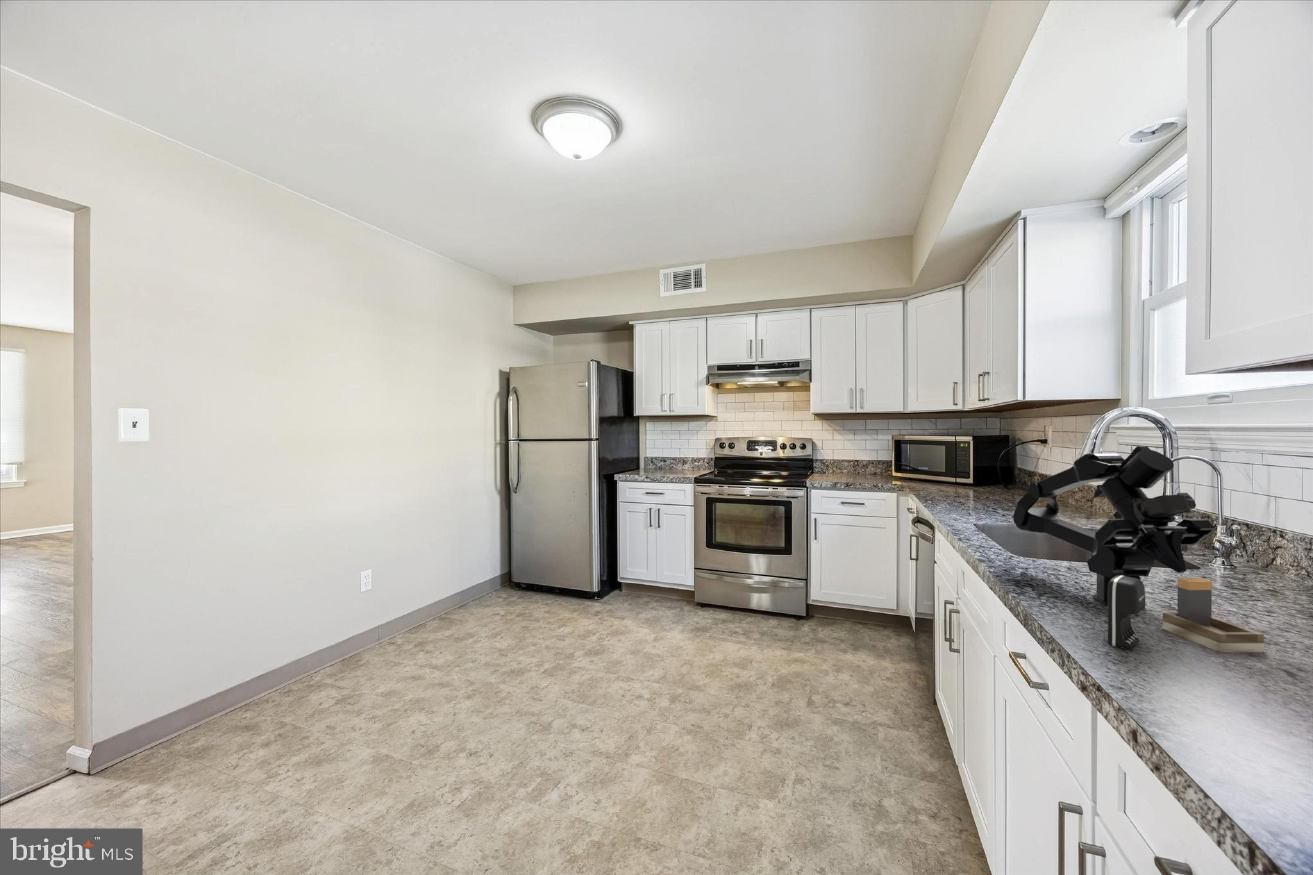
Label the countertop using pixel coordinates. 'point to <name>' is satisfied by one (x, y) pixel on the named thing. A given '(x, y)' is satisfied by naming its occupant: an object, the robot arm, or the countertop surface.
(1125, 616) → the battery charger
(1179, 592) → the fader lever
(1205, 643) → the tray
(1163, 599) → the countertop surface
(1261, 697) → the countertop surface
